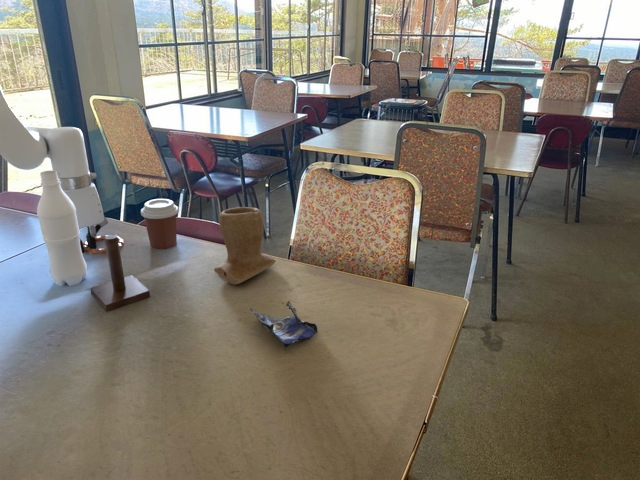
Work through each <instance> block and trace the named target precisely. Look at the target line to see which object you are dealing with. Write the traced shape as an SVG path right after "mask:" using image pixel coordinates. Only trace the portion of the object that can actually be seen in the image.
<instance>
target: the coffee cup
mask: <svg viewBox="0 0 640 480" xmlns="http://www.w3.org/2000/svg"><path fill="white" fill-rule="evenodd" d="M179 212H180V211H179V206H177V205H176V204H175V202H174V201H173V200H171V199H169V198H155V199H150V200H148V201H146V202H145V203H144V205H143V208H141V209H140V216H141V217H143V218H144V223H145V227H146V232H147V235H148V236H147V237H148V240H149V244H150V245H149V246H150V247H151V249H154V250H160V251H161V250H169V249H173V248H174V247H176V246H177V214H179Z"/></svg>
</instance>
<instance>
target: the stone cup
mask: <svg viewBox="0 0 640 480" xmlns="http://www.w3.org/2000/svg"><path fill="white" fill-rule="evenodd" d="M218 218H219V221H218V222H219V223H218V225H219V231H220V234H221V236H222V239H223V242H224V246H225V248H226V253H227V257H226V260H224V261H223V262H222V263H221V264H218V265H217V266H216V267H214V268H213V270H214V272H215V273H216V274H217V275H218V277H219V278H220V279H222V280H223V281H224V282H226V283H227V284H230V285H240V284H241V283H243V282H245V281H247V280H249V279H251V278H253V277H255V276H257V275H259V274H260V273H262V272H264V271H265V270H267V269H269V268H270V267H272V266H273V265H274V264H276V258H274V257H273V256H271V255H268V254H266V253H263V252H262V251H261V249H262V241H263V238H264V232H265V231H264V229H265V227H264V218H263V214H262V211H261V210H260V209H259V208H257V207H251V206H237V207H232V208H227V209H225V210H222V211H221V212H220V214H219V217H218Z"/></svg>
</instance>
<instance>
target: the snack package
mask: <svg viewBox="0 0 640 480" xmlns="http://www.w3.org/2000/svg"><path fill="white" fill-rule="evenodd" d="M285 304H286V307H288V309H289V310H291V313H292V314H293V316H292V315H286V316H281V317H280V316H279V317H278V316H271V315H269V314H266V313H263V312H260V313H259V312H256V311H255V310H253V309H252V308H250V310H251V312H252V313H253V314H254V315H255V317H256V319H257V321H258V322H259V323H260V324H261V325H262V326H263V327H264V328H265V329H266V330H267V331H268V332H269V334H271V335H272V336H274V337H275V338H276V339H277V340H279V342H280V343H281V344H282V346H284V348H288V347H289V346H291V345H292V344H293V343H295V342H297V341H300V342H301V343H303V342H304V341H307V340H310V339H312V338H313V337H314V335H316V334H318V331H319V330H318V326H317V324H316V323H312V322H309V321H303V320H301V318H300V317H299V315H298V313H297V309H296V307H293V303H292V302H290V300H287V302H286V303H285ZM282 305H284V302H282ZM274 307H276V305H274ZM284 351H287V349H285V350H284Z"/></svg>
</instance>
